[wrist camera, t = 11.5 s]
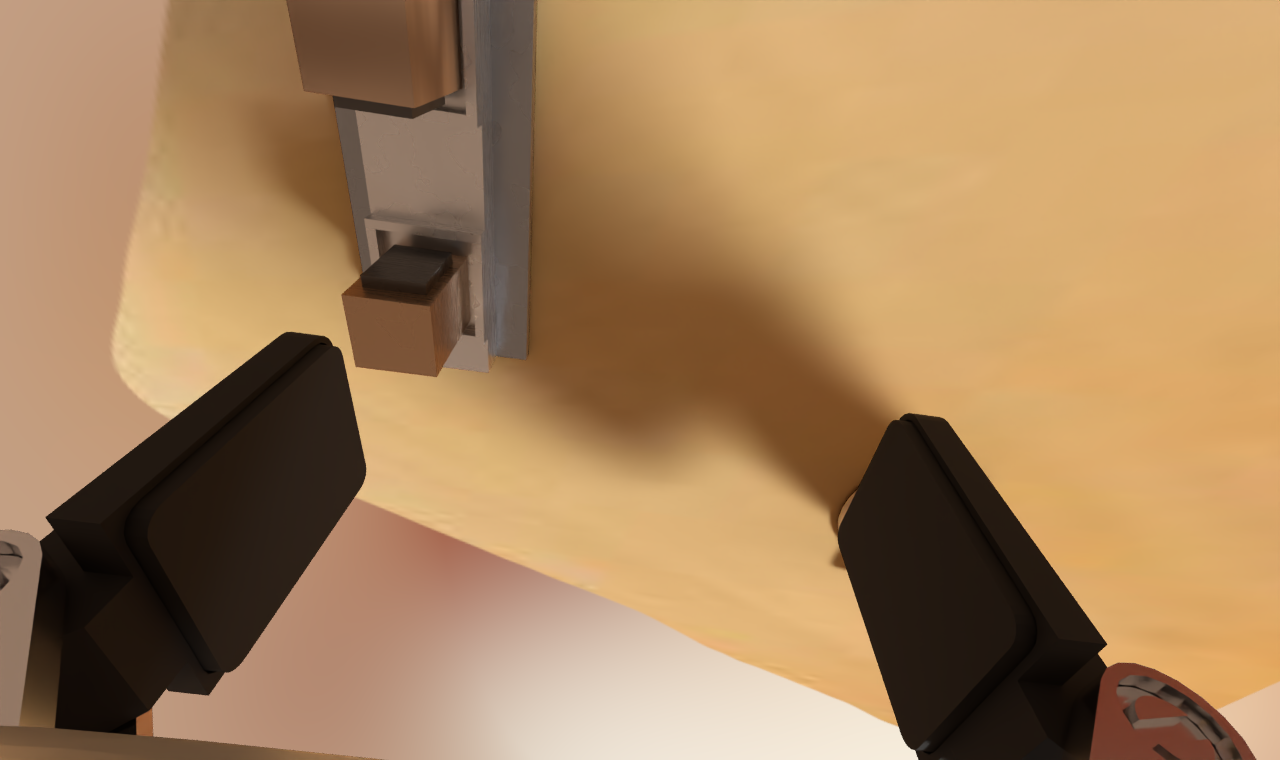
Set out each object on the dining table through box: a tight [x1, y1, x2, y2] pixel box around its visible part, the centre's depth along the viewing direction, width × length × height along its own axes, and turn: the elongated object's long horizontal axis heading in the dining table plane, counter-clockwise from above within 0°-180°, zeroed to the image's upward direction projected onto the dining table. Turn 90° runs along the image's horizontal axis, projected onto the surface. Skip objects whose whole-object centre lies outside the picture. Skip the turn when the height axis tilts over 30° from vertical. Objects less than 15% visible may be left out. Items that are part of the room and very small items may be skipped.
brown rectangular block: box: [286, 0, 462, 119], centre depth 21 cm, size 5×4×6 cm
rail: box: [335, 0, 537, 377], centre depth 26 cm, size 24×10×9 cm, turn 172°
